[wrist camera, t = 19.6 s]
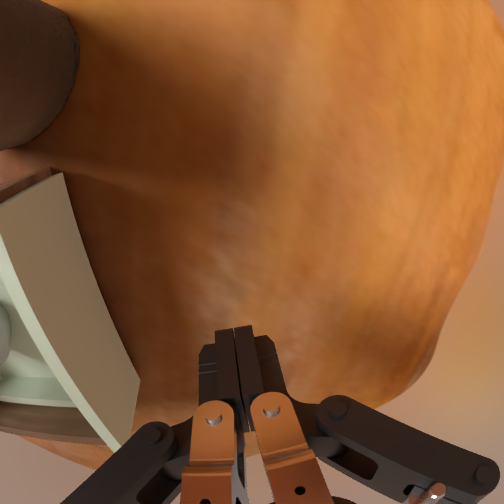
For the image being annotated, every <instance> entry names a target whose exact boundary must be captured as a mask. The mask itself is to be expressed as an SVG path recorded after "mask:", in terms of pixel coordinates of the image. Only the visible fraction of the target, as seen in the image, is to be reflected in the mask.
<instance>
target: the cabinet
mask: <svg viewBox="0 0 504 504" xmlns="http://www.w3.org/2000/svg"><path fill="white" fill-rule="evenodd" d="M49 176H52V174H51V170H50V167H49V168H46V169H43V170H40V171H37V172H34V173H31V174H28V175H26V176H23V177H20V178H18V179H15V180H12V181H10V182H7V183H5V184H2V185H0V204H1V203H2V202H4V201H6V200H7V199H9V198H11V197H12V196H14V195H16V194H18V193H19V192H21V191H23V190H25V189H27V188H28V187H30V186H32V185H34V184H36V183H38V182H40V181H41V180H43V179H45V178H47V177H49ZM0 431H2V432H6V433H11V434H16V435H22V436H27V437H33V438H40V439H46V440H54V441H62V442H71V443H81V444H94V445H107V444H106V443H105V442H104V440H103V439H102V438H101V437H100V436H99V435H98V433H97V432H96V431H95V430H94V428H93V427H92V426H91V425H90V423H89V422H88V421H87V420H86V418H85V417H84V416H83V414H82V413H81V412H80V411H79V409H78V408H77V407H57V406H42V405H31V404H21V403H12V402H4V401H0Z"/></svg>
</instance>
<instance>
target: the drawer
mask: <svg viewBox="0 0 504 504" xmlns="http://www.w3.org/2000/svg"><path fill="white" fill-rule="evenodd" d="M0 304H1V306H2V307H3V308H4V309H5V310H6V311H7V312H8V314H9V317H10V325H11V341H10V351H9V356H8V358H7V360H6V361H5V362H4V363H3V364H2V365H1V366H0V401H4V402H12V403H21V404H31V405H42V406H57V407H77V408H78V409H79V411H80V412H81V413H82V414H83V416H84V417H85V418H86V420H87V421H88V422H89V423H90V425H91V426H92V427H93V428H94V430H95V431H96V432H97V433H98V435H99V436H100V437H101V438H102V439H103V440H104V442H105V443H106V444H107V445H108V446H109V447H110V449H111V450H112V451H113V452H114V453H115V452H116V451H117V450H118V449H119V448H120V447H121V446H122V445H123V444H124V443H125V442H127V441H128V440H129V439H130V437H131V431H132V425H133V419H134V413H135V408H136V402H137V397H138V391H139V386H140V381H141V380H140V378H139V376H138V374H137V372H136V370H135V369H134V366H133V364H132V362H131V360H130V358H129V356H128V354H127V352H126V350H125V348H124V346H123V344H122V341H121V339H120V337H119V335H118V333H117V330H116V328H115V326H114V324H113V321H112V319H111V317H110V314H109V312H108V310H107V307H106V305H105V302H104V300H103V297H102V295H101V292H100V290H99V287H98V285H97V282H96V279H95V277H94V274H93V271H92V268H91V266H90V263H89V260H88V257H87V254H86V251H85V248H84V245H83V242H82V239H81V236H80V233H79V230H78V227H77V223H76V220H75V217H74V213H73V210H72V206H71V203H70V199H69V196H68V192H67V188H66V184H65V180H64V176H63V172H62V173H58V174H55V175H52V176H49V177H47V178H45V179H43V180H41V181H40V182H38V183H36V184H34V185H32V186H30V187H28V188H27V189H25V190H23V191H21V192H19V193H18V194H16V195H14V196H12V197H11V198H9V199H7V200H6V201H4V202H2V203H1V204H0Z"/></svg>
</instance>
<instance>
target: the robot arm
mask: <svg viewBox="0 0 504 504" xmlns="http://www.w3.org/2000/svg"><path fill="white" fill-rule="evenodd" d="M234 333H235V336H234ZM247 417H248V418H247ZM248 420H249V424H250V428H251V431H255V432H256V436H257V440H258V445H259V449H260V453H261V456H262V460H263V463H264V467H265V471H266V475H267V478H268V482H269V486H270V489H271V493H272V497H273V500H274V502H273V503H270V504H356V503H354V502H351V501H350V500H347V499H344V498H340V497H335V496H331V494H330V492H329V489H328V487H327V484H326V482H325V479H324V477H323V474H322V472H321V469H320V467H319V464H318V462H317V459H316V457H318V458H319V459H320V460H321V461H323V462H324V463H326V464H328V465H330V466H331V467H333V468H335V469H336V470H338V471H340V472H342V473H343V474H345V475H347V476H349V477H351V478H352V479H354V480H356V481H358V482H360V483H362V484H364V485H366V486H367V487H369V488H371V489H373V490H375V491H377V492H379V493H381V494H383V495H385V496H387V497H389V498H391V499H393V500H395V501H398V502H400V503H401V504H477V503H478V502H479V501H480V500H481V499H483V498H484V497H485V496H487V495H488V494H489V493H490V492H492V491H493V490H494V489H495V487H496V486H497V484H498V482H499V479H500V471H499V467H498V465H497V464H496V463H495V462H494V461H493V460H491V459H489V458H486V457H484V456H481V455H478V454H476V453H473V452H470V451H468V450H465V449H463V448H460V447H458V446H455V445H452V444H450V443H448V442H445V441H443V440H440V439H438V438H436V437H433V436H431V435H429V434H426V433H424V432H422V431H419V430H417V429H415V428H412V427H410V426H408V425H406V424H404V423H401V422H399V421H397V420H395V419H393V418H391V417H388V416H386V415H384V414H382V413H380V412H378V411H376V410H374V409H372V408H370V407H367V406H365V405H363V404H361V403H359V402H357V401H355V400H353V399H351V398H349V397H347V396H343V395H334V396H330V397H328V398H326V399H324V400H323V401H322V402H321V403H320V404H308V403H301V402H298V401H296V400H294V399H293V398H292V397H291V396H290V395H289V394H288V393H287V390H286V387H285V383H284V379H283V375H282V372H281V368H280V364H279V360H278V356H277V353H276V349H275V345H274V342H273V341H272V340H271V339H270V338H269V337H268V336H267V335H264V336H258V337H254V335H253V330H252V325H248V326H242V327H236V328H234V332H233V328H230V329H223V330H217V331H215V343H214V344H207V345H204V346H203V348H202V350H201V352H200V354H199V406H198V408H197V409H196V411H195V412H194V415H193V416H192V417H191V418H190V419H188V420H187V421H185V422H182V423H180V424H177V425H174V426H172V427H170V426H168V425H167V424H165V423H163V422H150V423H147V424H145V425H143V426H142V427H141V428H140V429H139V430H138V431H137V432H136V433H135V434H134V435H133V436H132V437H131V438H130V439H129V440H128V441H127V442H125V443H124V444H123V445H122V446H121V447H120V448H119V449H118V450H117V451H116V452H115V453H114V454H113V455H112V456H111V457H110V458H109V459H108V460H107V461H106V462H105V463H104V464H103V465H102V466H100V467H99V468H98V469H97V470H96V471H95V472H94V473H93V474H92V475H91V476H90V477H89V478H88V479H87V480H86V481H84V482H83V483H82V484H81V485H80V486H79V487H78V488H77V489H76V490H75V491H74V492H72V493H71V494H70V495H69V496H68V497H67V498H66V499H65V500H64V501H63V502H61V503H60V504H170V503H171V502H172V501H173V500H174V499H175V497H177V495H178V494H179V493H180V492H181V494H180V504H249V499H248V494H247V478H246V454H245V439H244V433H245V432H250V431H249V425H248Z"/></svg>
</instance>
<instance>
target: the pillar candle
mask: <svg viewBox="0 0 504 504" xmlns="http://www.w3.org/2000/svg"><path fill="white" fill-rule="evenodd" d="M78 55H79V41H78V36H77V33H76V32H75V31H74V29H73V26H71V23H70V20H69V18H68V16H67V15H65V14H64V13H63V12H62V11H60V10H58V9H57V8H55V7H53V6H51V5H49V4H47V3H45V2H43V1H41V0H0V151H2V150H4V149H7V148H12V147H15V146H19V145H23V144H25V143H26V142H28V141H30V140H31V139H33V138H35V137H36V136H37V135H38V134H39V133H41V132H42V131H43V130H44V129H45V128H47V127H48V126H49V125H50V124H51V123H52V121H53V120H54V119H55V118H56V117H57V115H58V114H59V113H60V111H61V109H62V107H63V106H64V105H65V103H66V101H67V99H68V96H69V94H70V92H71V90H72V85H74V81H75V78H76V73H77V69H78V58H79V56H78Z"/></svg>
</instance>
